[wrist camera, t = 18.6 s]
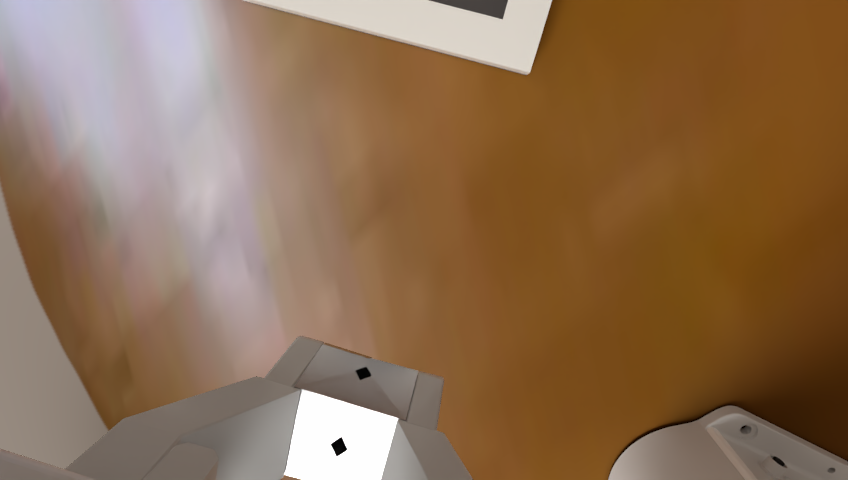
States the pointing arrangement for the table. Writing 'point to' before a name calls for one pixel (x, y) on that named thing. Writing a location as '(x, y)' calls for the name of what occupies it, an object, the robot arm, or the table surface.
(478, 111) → the table surface
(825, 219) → the table surface
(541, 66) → the table surface
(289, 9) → the socket board
